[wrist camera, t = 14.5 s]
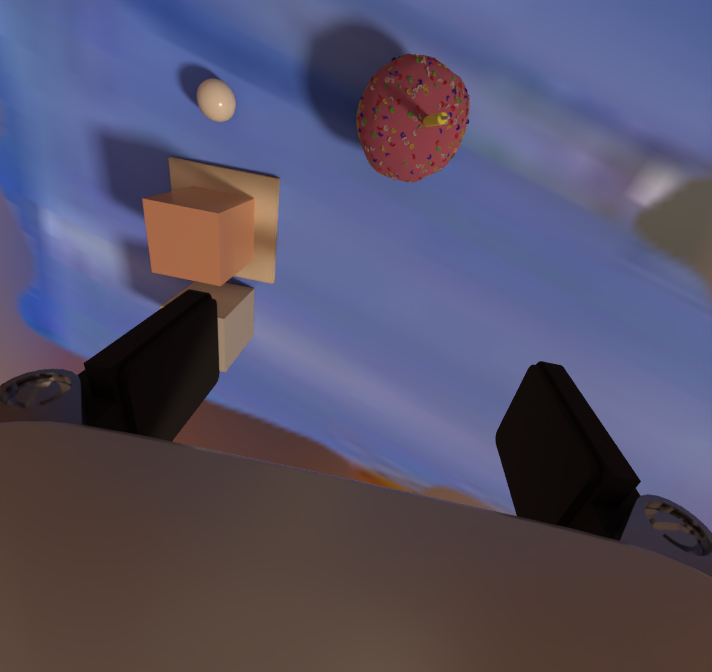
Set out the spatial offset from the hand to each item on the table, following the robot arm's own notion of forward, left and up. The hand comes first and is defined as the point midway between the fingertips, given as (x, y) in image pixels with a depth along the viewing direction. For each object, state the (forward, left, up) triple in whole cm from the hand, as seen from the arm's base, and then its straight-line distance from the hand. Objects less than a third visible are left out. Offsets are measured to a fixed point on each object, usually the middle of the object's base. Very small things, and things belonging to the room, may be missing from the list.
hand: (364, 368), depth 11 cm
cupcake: (-7, 0, -28) cm, 29 cm away
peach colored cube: (+5, -17, -28) cm, 33 cm away
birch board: (+5, -17, -28) cm, 33 cm away
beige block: (+15, -17, -28) cm, 36 cm away
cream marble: (-6, -17, -28) cm, 34 cm away
